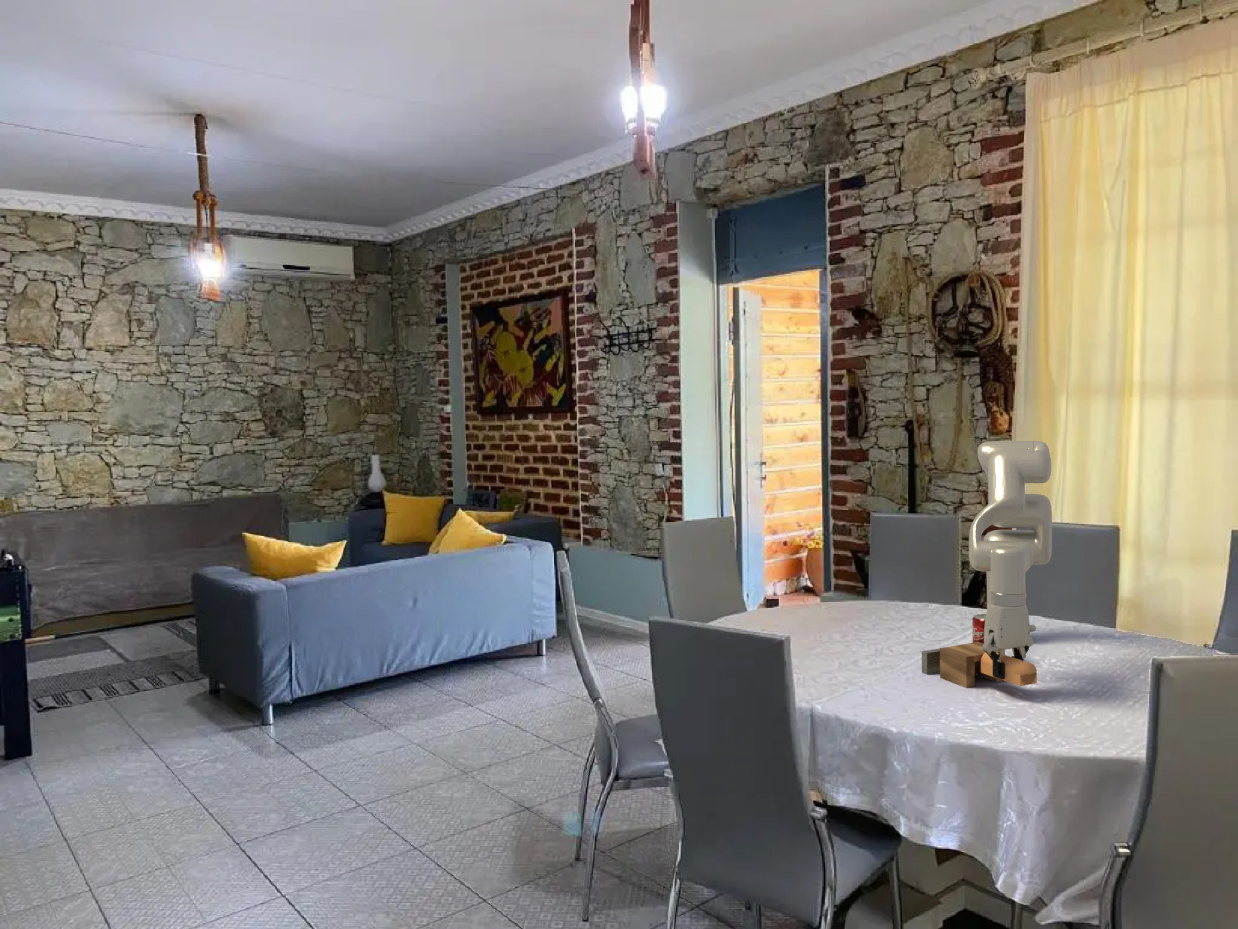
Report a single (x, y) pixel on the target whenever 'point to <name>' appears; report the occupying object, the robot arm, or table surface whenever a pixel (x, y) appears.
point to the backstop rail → (931, 661)
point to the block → (963, 664)
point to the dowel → (1012, 670)
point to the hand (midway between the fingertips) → (1008, 675)
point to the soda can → (978, 628)
